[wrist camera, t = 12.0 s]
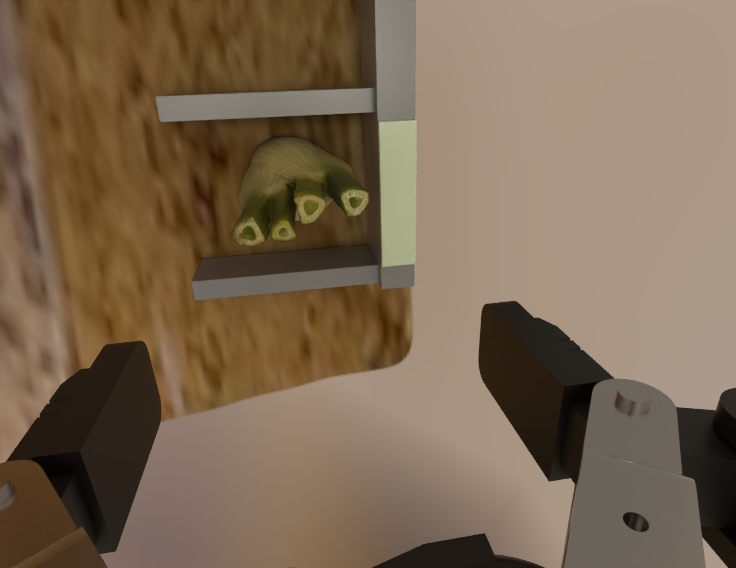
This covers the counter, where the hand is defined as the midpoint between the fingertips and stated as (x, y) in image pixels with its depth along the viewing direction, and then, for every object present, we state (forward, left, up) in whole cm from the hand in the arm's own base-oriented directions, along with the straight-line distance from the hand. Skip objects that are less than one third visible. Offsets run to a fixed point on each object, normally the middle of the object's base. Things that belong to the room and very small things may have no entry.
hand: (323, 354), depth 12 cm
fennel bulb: (-1, 0, -21) cm, 21 cm away
